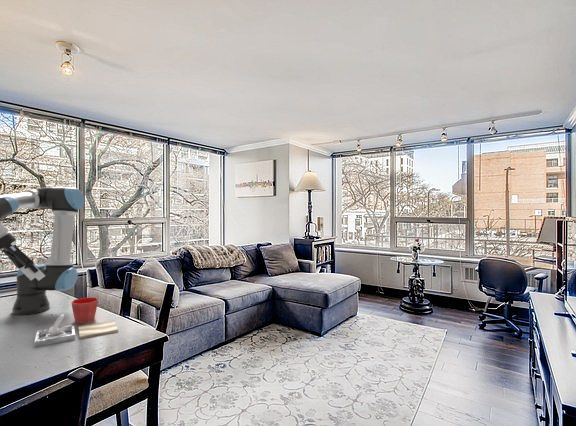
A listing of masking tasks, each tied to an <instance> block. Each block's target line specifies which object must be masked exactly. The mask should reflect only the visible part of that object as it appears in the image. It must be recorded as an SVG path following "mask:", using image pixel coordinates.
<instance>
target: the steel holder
mask: <svg viewBox="0 0 576 426" xmlns="http://www.w3.org/2000/svg"><path fill="white" fill-rule="evenodd" d="M58 328H59V331H64V332H65V333H67V332H71V333H70V334H67V335H65V336H59V337H53V336H52V337H53V338H48V339H44V338H42V339H40V337H42V336H46V335H47V334H49V332H48V330H49V329H50V328H45V329H41V330H37V331H36V332H35V338H34V341H33V342H34V344H33V346H34V347H42V346H45V345H46V346H47V345H53V344H58V343H62V342H68V341H73V340H74V341H75V340H76V329H75V325H74V324H72V325H71V324H70V325H65V326H58Z"/></svg>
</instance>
